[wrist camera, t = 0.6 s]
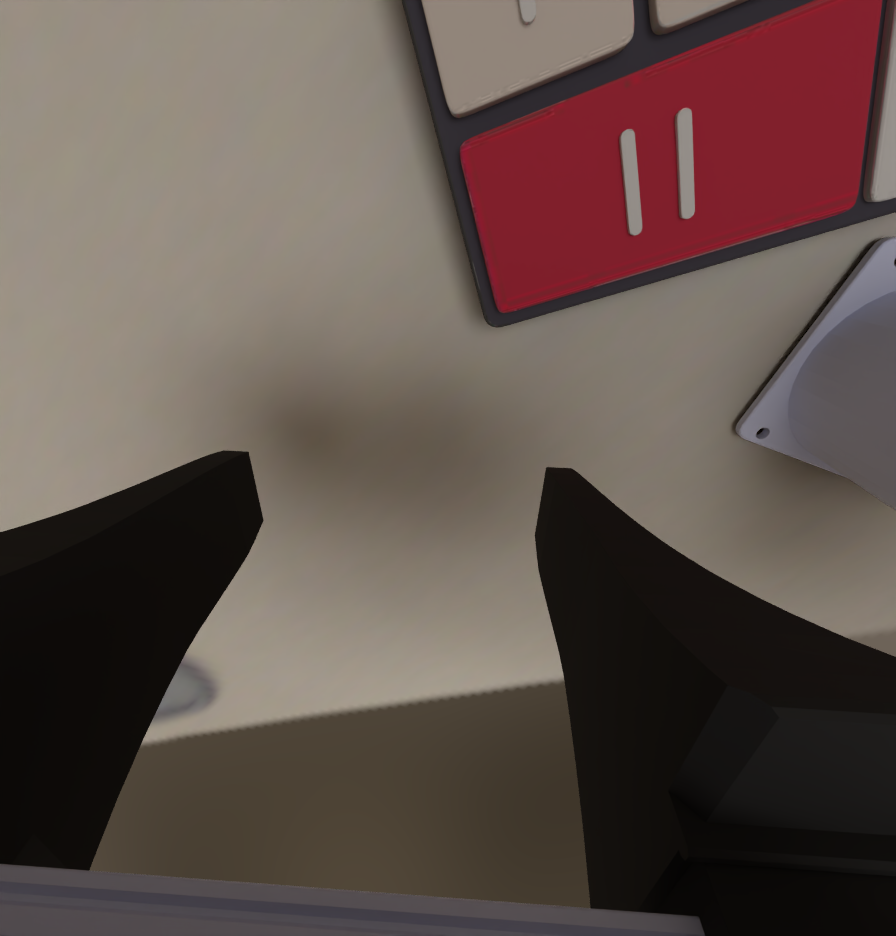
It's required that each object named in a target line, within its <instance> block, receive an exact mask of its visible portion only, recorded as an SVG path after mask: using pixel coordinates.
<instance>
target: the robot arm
mask: <svg viewBox="0 0 896 936" xmlns="http://www.w3.org/2000/svg"><path fill="white" fill-rule="evenodd" d="M895 258H896V237H886V238H882V239H881V240H879V241H877V242H876V243H875V244H874V245H873V246H872V247H871V248H870V249H869V251H868V252H867V253H866V255H865V256H864V257H863V259H862V260H861V261H860V263H859V264H858V265H857V267H856V268H855V269H854V270H853V272H852V273H851V274H850V276H849V277H848V278H847V280H846V281H845V282H844V284H843V285H842V286H841V288H840V289H839V290H838V292H837V293H836V294H835V295H834V297H833V298H832V299H831V301H830V302H829V303H828V305H827V306H826V307H825V309H824V310H823V311H822V313H821V314H820V315H819V316H818V318H817V319H816V320H815V322H814V323H813V324H812V326H811V327H810V328H809V330H808V331H807V332H806V334H805V335H804V336H803V338H802V339H801V340H800V341H799V343H798V344H797V345H796V347H795V348H794V349H793V351H792V352H791V353H790V355H789V356H788V357H787V359H786V360H785V361H784V363H783V364H782V365H781V366H780V368H779V369H778V370H777V372H776V373H775V374H774V376H773V377H772V378H771V380H770V381H769V382H768V384H767V385H766V386H765V387H764V389H763V390H762V391H761V393H760V394H759V395H758V397H757V398H756V399H755V401H754V402H753V403H752V405H751V406H750V407H749V409H748V410H747V411H746V412H745V414H744V415H743V416H742V418H741V419H740V420H739V422H738V423H737V425H736V432H737V434H738V435H739V436H740V437H742V438H743V439H745V440H748V441H751V442H753V443H756V444H758V445H761V446H764V447H766V448H769V449H772V450H774V451H777V452H780V453H782V454H785V455H788V456H790V457H793V458H796V459H798V460H801V461H803V462H806V463H809V464H811V465H814V466H817V467H819V468H822V469H825V470H827V471H830V472H833V473H835V474H838V475H840V476H843V477H846V478H848V479H850V480H851V481H853V482H854V483H856V484H857V485H859V486H860V487H861V488H863V489H864V490H866V491H867V492H869V493H870V494H872V495H873V496H875V497H876V498H878V499H879V500H881V501H882V502H884V503H885V504H887V505H888V506H890V507H891V508H893V509H894V510H896V265H894V260H895ZM761 428H764V430H763V432H761V433H760V434H758V435H756V433H757V431H758V430H760V429H761ZM262 523H263V516H262V512H261V507H260V502H259V498H258V493H257V489H256V484H255V480H254V475H253V470H252V466H251V461H250V457H249V452H242V451H220V452H217V453H214V454H210V455H208V456H205V457H202V458H200V459H197V460H195V461H192V462H190V463H187V464H185V465H182V466H180V467H178V468H175V469H173V470H170V471H168V472H166V473H163V474H161V475H159V476H156V477H154V478H151V479H149V480H147V481H144V482H142V483H140V484H137V485H135V486H132V487H130V488H127V489H125V490H122V491H119V492H117V493H114V494H112V495H109V496H107V497H104V498H102V499H99V500H96V501H94V502H91V503H89V504H86V505H83V506H81V507H78V508H75V509H72V510H70V511H67V512H64V513H61V514H58V515H55V516H52V517H49V518H46V519H42V520H39V521H36V522H33V523H30V524H27V525H24V526H20V527H17V528H14V529H10V530H7V531H3V532H0V936H896V657H894V656H891V655H889V654H887V653H884V652H881V651H879V650H876V649H873V648H871V647H869V646H866V645H863V644H861V643H858V642H856V641H853V640H851V639H848V638H846V637H843V636H841V635H838V634H836V633H834V632H832V631H829V630H827V629H825V628H823V627H820V626H818V625H816V624H814V623H811V622H809V621H807V620H805V619H802V618H800V617H798V616H796V615H793V614H791V613H789V612H787V611H785V610H783V609H781V608H779V607H777V606H775V605H772V604H770V603H768V602H766V601H764V600H762V599H760V598H758V597H756V596H754V595H753V594H751V593H749V592H747V591H745V590H743V589H741V588H739V587H737V586H735V585H734V584H732V583H730V582H728V581H726V580H724V579H722V578H721V577H719V576H717V575H715V574H714V573H712V572H710V571H708V570H707V569H705V568H703V567H702V566H700V565H698V564H697V563H695V562H694V561H692V560H690V559H689V558H687V557H686V556H684V555H683V554H681V553H679V552H678V551H676V550H675V549H673V548H672V547H670V546H669V545H667V544H666V543H664V542H663V541H661V540H660V539H659V538H657V537H656V536H655V535H653V534H652V533H650V532H649V531H648V530H646V529H645V528H644V527H642V526H641V525H640V524H638V523H637V522H636V521H634V520H633V519H632V518H631V517H629V516H628V515H627V514H626V513H624V512H623V511H622V510H621V509H620V508H618V507H617V506H616V505H615V504H614V503H612V502H611V501H610V500H609V499H608V498H606V497H605V496H604V495H603V494H602V493H601V492H600V491H598V490H597V489H596V488H595V487H594V486H593V485H592V484H590V483H589V482H588V481H587V480H586V479H585V478H583V477H582V476H581V475H580V474H579V473H577V472H576V471H575V470H573V469H571V468H552V467H546V472H545V478H544V484H543V490H542V496H541V502H540V508H539V514H538V520H537V526H536V532H535V541H536V551H537V560H538V568H539V574H540V578H541V582H542V586H543V590H544V595H545V599H546V603H547V607H548V611H549V614H550V618H551V622H552V626H553V630H554V634H555V638H556V642H557V646H558V650H559V654H560V659H561V664H562V669H563V674H564V680H565V687H566V694H567V701H568V707H569V715H570V722H571V730H572V737H573V745H574V753H575V761H576V769H577V778H578V787H579V794H580V795H579V796H580V805H581V813H582V823H583V832H584V842H585V853H586V862H587V874H588V883H589V894H590V905H591V908H578V907H564V906H551V905H538V904H525V903H512V902H511V903H510V902H498V901H485V900H472V899H458V898H445V897H431V896H418V895H406V894H390V893H379V892H365V891H352V890H338V889H326V888H313V887H312V888H311V887H298V886H286V885H273V884H260V883H259V884H258V883H246V882H233V881H220V880H206V879H193V878H180V877H165V876H153V875H140V874H126V873H113V872H100V871H89V870H90V867H91V864H92V862H93V859H94V856H95V854H96V851H97V849H98V846H99V844H100V841H101V839H102V836H103V834H104V831H105V829H106V826H107V824H108V821H109V818H110V816H111V813H112V811H113V808H114V806H115V803H116V801H117V798H118V796H119V794H120V791H121V789H122V786H123V784H124V782H125V780H126V777H127V775H128V773H129V771H130V768H131V766H132V764H133V761H134V759H135V757H136V754H137V752H138V750H139V748H140V745H141V743H142V741H143V738H144V736H145V734H146V732H147V730H148V728H149V726H150V724H151V722H152V719H153V717H154V715H155V713H156V711H157V709H158V707H159V705H160V703H161V701H162V698H163V696H164V694H165V692H166V690H167V688H168V686H169V684H170V682H171V680H172V678H173V677H174V675H175V673H176V671H177V669H178V667H179V665H180V663H181V661H182V659H183V657H184V655H185V653H186V651H187V649H188V648H189V646H190V644H191V643H192V641H193V639H194V638H195V636H196V634H197V633H198V631H199V630H200V628H201V626H202V625H203V623H204V622H205V620H206V619H207V617H208V616H209V614H210V613H211V611H212V610H213V608H214V607H215V605H216V604H217V602H218V601H219V599H220V597H221V596H222V594H223V593H224V591H225V590H226V588H227V587H228V585H229V584H230V582H231V581H232V579H233V578H234V576H235V574H236V573H237V571H238V570H239V568H240V567H241V565H242V563H243V562H244V560H245V559H246V557H247V555H248V554H249V552H250V549H251V547H252V545H253V543H254V541H255V539H256V537H257V534H258V532H259V530H260V527H261V525H262Z"/></svg>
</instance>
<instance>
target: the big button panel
mask: <svg viewBox="0 0 896 936" xmlns="http://www.w3.org/2000/svg"><path fill="white" fill-rule="evenodd" d="M402 3H403V7H404V10H405V14H406V18H407V22H408V26H409V30H410V34H411V37H412V41H413V45H414V49H415V53H416V57H417V61H418V64H419V68H420V72H421V76H422V80H423V84H424V88H425V91H426V95H427V99H428V103H429V107H430V111H431V115H432V119H433V122H434V126H435V130H436V134H437V138H438V142H439V146H440V149H441V153H442V157H443V161H444V165H445V169H446V173H447V176H448V180H449V184H450V188H451V192H452V196H453V200H454V203H455V207H456V211H457V215H458V219H459V223H460V227H461V230H462V234H463V238H464V242H465V246H466V250H467V254H468V257H469V261H470V265H471V269H472V273H473V277H474V281H475V285H476V288H477V292H478V296H479V300H480V304H481V308H482V311H483V315H484V318H485V320H486V322H487V323H488V324H489V325H490V326H492V327H503V326H507V325H511V324H514V323H517V322H521V321H524V320H528V319H531V318H535V317H538V316H541V315H545V314H548V313H552V312H555V311H558V310H562V309H565V308H569V307H572V306H576V305H579V304H582V303H586V302H589V301H593V300H596V299H600V298H603V297H606V296H610V295H613V294H617V293H620V292H624V291H627V290H630V289H634V288H637V287H641V286H644V285H648V284H651V283H654V282H658V281H661V280H665V279H668V278H671V277H675V276H678V275H682V274H685V273H689V272H692V271H695V270H699V269H702V268H706V267H709V266H713V265H716V264H719V263H723V262H726V261H730V260H733V259H737V258H740V257H743V256H747V255H750V254H754V253H757V252H761V251H764V250H767V249H771V248H774V247H778V246H781V245H784V244H788V243H791V242H795V241H798V240H802V239H805V238H808V237H812V236H815V235H819V234H822V233H826V232H829V231H832V230H836V229H839V228H843V227H846V226H850V225H853V224H856V223H860V222H863V221H867V220H870V219H874V218H877V217H880V216H884V215H887V214H891V213H894V212H896V0H402Z"/></svg>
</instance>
